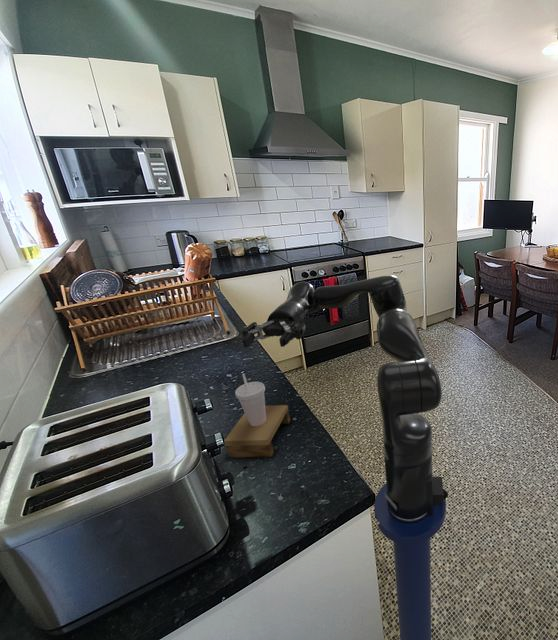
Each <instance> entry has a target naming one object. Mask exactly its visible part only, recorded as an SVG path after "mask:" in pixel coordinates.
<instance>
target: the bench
mask: <svg viewBox="0 0 558 640" xmlns="http://www.w3.org/2000/svg"><path fill="white" fill-rule="evenodd" d="M265 411H266V421H265V423H263V424H262V425H260V426H255V427H254V426H251V425H250V423H249V421H248V419H247V417H246V415H245V412H243V414H242V416H241V417H240V418H239V420H238V421H237V423H236V424H235V425H234V426H233V428H232V429H231V431H230V432H229V433H228V434H227V436H226V437H225V438H224V440H223V442H224V445H225V448H226V452H227V455H228V458H258V457H261V458H262V457H265V458H267V457H273V455H274V452H275V451H274V447H273V442H272V440H273V437H275V435H276V433H277V431H278V429H279V427H280V425H289V424H290V422H291V416H290V412H289V411H290V410H289V407H288V404H280V405H277V404H276V405H265Z"/></svg>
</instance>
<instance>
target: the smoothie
mask: <svg viewBox="0 0 558 640" xmlns="http://www.w3.org/2000/svg"><path fill="white" fill-rule="evenodd" d="M241 377H242V379H243V383H244V384H241V385H239V387H237V388H236V389H235V391H234V395H235V398H236V399H237V400H238V402H239V404H240V406H241V408H242V410H243V413H245V415H246V417H247V419H248V421H249V423H250V425H251V426H254V427H255V426H260V425H262V424H263V423H265V421H266V411H265V406H266V399H265V391H266V386H265V384H264V382H261V381H249V382H248V381H247V377H246V373H242V374H241Z"/></svg>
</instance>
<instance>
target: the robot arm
mask: <svg viewBox="0 0 558 640" xmlns="http://www.w3.org/2000/svg"><path fill="white" fill-rule="evenodd" d="M364 293H367V294H369V297H370V300H371V303H372V306H373V308H374V311H375V313H376V315H377V317H378V320H377V323H376V336H377V341H378V345H379V347H380V349H381V350H382V351H383V352H384V354H386V355H387V356H388V357H390V358H391V359H392V360H394V361H396V362H389V363H384V364H382V365H380V366H379V368H378V372H377V376H376V378H377V379H376V385H377V394H378V395H377V396H378V402H379V407H380V415H381V425H382V443H383V457H384V469H385V470H384V472H385V484H387V495H386V493H385V497H386V499H387V503H388V510H389V512H390V514H391V515H392V517H393V518H395V519H396V520H398V521H400V522H403V523H415V522H418V521H421V520H422V519H424V518H425V517H426V516H431V515H433V505H443V500H444V499H446V500H447V498H448V497H449V492H448V490H446V489H445V488H444V482H443V476H433V429H432V425H431V423H430V421H429V420H428V418H427V417H426V416H424V415H422V413H427V412H431V411H434V410H436V409H437V408H438V407H439V405H440V404H441V401H442V397H443V396H442V395H443V394H442V393H443V391H442V384H441V380H440V376H439V373H438V371H437V369H436V366H435V364H434V363H433V360H432V358H431V357H430V355H429V354H428V352H427V350H426V348H425V346H424V344H423V342H422V340H421V336H420V333H419V330H418V327H417V325H416V324H417V323H416V322H415V320H414V318H413V316H412V315H411V314H410V313H409V312H408V311H407V301H406V298H405V294H404V290H403V287H402V284H401V281H400V279H399V277H398V276H395V275H381V276H376V277H372V278H367V279H361V280H357V281H354V282H349V283H346V284H339V285H337V284H336V285H324V286H319V287H317V288H316V289H314V286H313V285H312V284H311V283H310V282H308V281H299V282H296V283H295V284H294V285H292V286H291V288H290V289H289V292H288V294H287V297H286V300H285V301H284V302H282V303H281V304H280V305H279V306H277V307H276V308H275V309H274V310H273V311H272V312H271V313H270V314H269V315H268V317H267V321H266V322H264V323H262V324H258V323H257V321H252V322H251V323H250V324H248V325H247V326H246V327H244V329H242V330H241V333H242V334H241V335H242V340H241V342H242V345H243V347H244V348H250V346H251V345H253V343H255V341H257V340H262V341H263V340H266V339H268V338H270V337H271V338H273V337H279V341H278V342H279V345H280V347H281V348H282V347H285V346H287V345H288V344H289V343H290V342H292V341H293V340H294V339H296V340H301V339H302V337H303V336H304V334H305V332H306V323H305V321H304V318H305V317H306V316H308V315H310V314H313V313H315V312H318V311H322V310H326V309H327V310H328V309H331V310H332V309H342V308H345V307H346V306H348V305H350V304H351V303H352V302H353V301H354V300H355V299H356V298H358V296H360V295H361V294H364ZM256 334H257V335H256ZM255 335H256V336H255ZM443 494H444V495H443Z"/></svg>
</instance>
